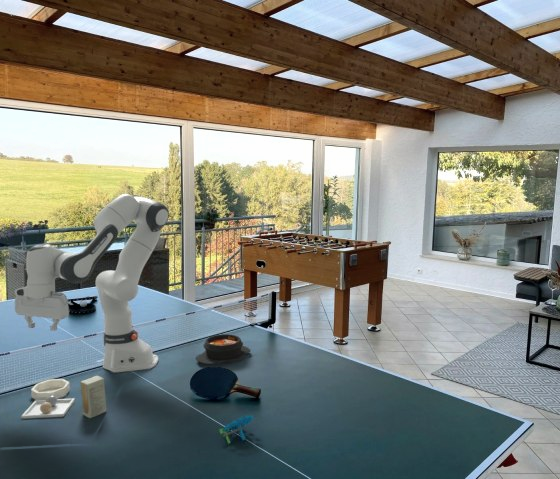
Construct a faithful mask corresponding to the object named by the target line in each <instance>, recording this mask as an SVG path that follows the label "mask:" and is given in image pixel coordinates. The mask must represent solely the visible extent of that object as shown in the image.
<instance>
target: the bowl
mask: <svg viewBox="0 0 560 479" xmlns="http://www.w3.org/2000/svg"><path fill="white" fill-rule="evenodd" d="M70 384H71V383H70V381H68V380H66V379H64V378H55V379H54V378H53V379H50V378H49V379H47V380H44V381H41V382H38V383H36V384H35V385H34V386H33V387H32V388H31V389H30V391H31V398H32V399H34V401H35V400H46V399H47V398H48V397H49V396H51V395H54V396H56V397H57V399H62V398H64V397H66V396H67V394H68V393H69V392H70V391H71V387H70V386H71V385H70Z"/></svg>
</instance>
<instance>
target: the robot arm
mask: <svg viewBox="0 0 560 479" xmlns="http://www.w3.org/2000/svg"><path fill="white" fill-rule="evenodd" d="M169 215H170V213H169V209H168V207H167V206H166V205H165V204H163V203H161V202H158V201H156V200H154V199H152V198H149V197H144V196H139V195H135V194H132V195H131V194H128V193H124V194H120V195H119V196H117V197H116V198H114V199H112V200H110V202H109V203H108V204H107V205H105V206H104V207H103V208H102V209H101V210H100V211H98V213H97V214H96V216H95V217H94V220H93V227H94V230H95V231H96V235H95V237H94V238H93V239H92V240H91V241H90V242H89V243H88V244H87V245H86V247H84V249H83V250H82V251H80V252H77V253H73V252H69V251H65V250H62V249H60V248H56V247H54V246H53V245H51V244H50V243H40V244H36V245H33V246H31V247H29V248H28V250H27V251H26V252H27V253H26V258H25V260H26V262H25V263H26V265H25V268H26V269H25V270H26V271H25V272H26V274H27V280H26V285H25V286H24V287H19V288H17V289H15V290H14V295H15V298H14V312H15V314H16V315H17V316H24V320H25V321H26V323H27V328H28V329H33V328H35V327H36V322H35V321H33V318H44V319H51V320H52V324H51V325H49V328H50V329H49V330H50V331H53V332H55V331H57V330H58V324H59V323H60V321H61V320H63V319H67V318H68V317H69V315H70V308H69V304H68V297H67V295H66V294H64V292H58V291H56V279H58V278H61V279H63V280H66V281H67V282H68V283H71V284H81V283H84V282H86V281H88V279H89V278H90V277H91V276H92V274H93V271H94V269H95V266H96V265H97V263H98V262H99V260H100V259H101V258H102V257H103V256H104V255H105V254H106V253H107V251H108V250H109V249H110V247H111V246H112V245H113V244H114V243H115V241H116V239H118V236H119V235H120V233H122V231H124V229H126V228H127V227H128V226H129V225H130V223H132V221H133V222H134V223H136V228H135V229H134V231H133V232H132V233H131V235H130V236H129V238H128V240H127V241H126V243H125V245H124V246H123V248H122V249H121V251H120V253H119V254H118V262H117V265H116V269H115V270H111V269H110V270H109V269H108V270H104V271H101V272H100V273H99V274H98V275H97V276H96V278H95V281H94V282H95V287H96V289H97V291H98V292H97V293H98V296H99V301H100V302H99V303H100V305H101V309H102V316H103V326H104V329H103V330H104V332H103V344H104V356H103V362H102V365H103V366H102V368H103V369H105V370H108V371H110V372H111V373H123V372H132V371H140V370H150V369H152V368H154V367H156V366H157V364H158V363H159V356H158V355H157V354H154V353H153V349H152V346H151V345H150V344H148V343H146V342H145V341H143V340H142V339H140V338H139V336H138V335H139V334H138V332H139V330H135V329H133V316H132V315H133V313H132V309H131V308H130V306H129V302H130V301H133V300H134V299H135V298H136V297H137V295H138V292H139V282H140V278H141V274H142V272H143V270H144V268H145V265H146V264H147V262H148V260H149V259H150V257H151V255H152V253H153V252H154V250H155V248H156V245H157V244H158V242H159V239H160V237H161V232H162V229H163V228H164V227H165V226H166V224H167V223H168V220H169V217H170V216H169Z"/></svg>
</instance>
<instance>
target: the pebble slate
mask: <svg viewBox="0 0 560 479" xmlns="http://www.w3.org/2000/svg"><path fill="white" fill-rule="evenodd" d="M46 402H49V403H51V405H52V406H54V405H56V403H57V397H56V396H54V395H51V396H49V397H48V398H47V399H46Z"/></svg>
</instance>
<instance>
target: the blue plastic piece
mask: <svg viewBox="0 0 560 479" xmlns="http://www.w3.org/2000/svg"><path fill="white" fill-rule="evenodd" d="M253 420H254V416H253V414H251V415H249V414H247V415H245V416H244V417H243V416H241V417H238V419H237V420H232V421H231V422H230V423H229V424H226V425H224V427H223V428H220V429H218V431H219V434H220V435H223V437H224V438H225V440H226V442H227V444H228V445H229V444H231V441H230V438H229V436H230V435H233V434H235V433H238V432H239V436H240V437H241V438H240V439H241V440H242V441H245V440H246V436H245V434H244V432H243V428H244V427H245V426H246V425H248V424H250V423H251V421H253Z"/></svg>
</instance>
